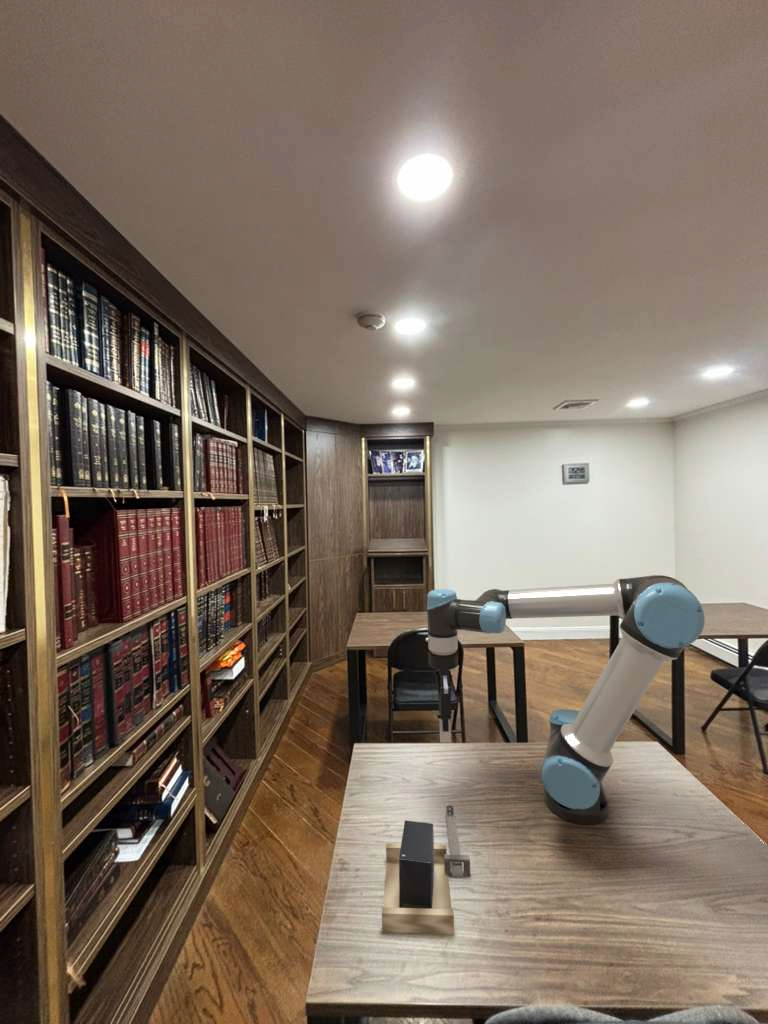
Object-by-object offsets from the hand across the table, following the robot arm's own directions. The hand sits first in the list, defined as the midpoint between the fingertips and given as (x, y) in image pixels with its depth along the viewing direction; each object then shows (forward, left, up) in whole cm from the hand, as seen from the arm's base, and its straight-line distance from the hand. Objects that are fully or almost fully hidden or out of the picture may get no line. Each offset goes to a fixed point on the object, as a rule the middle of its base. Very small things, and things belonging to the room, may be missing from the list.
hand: (445, 740), depth 113 cm
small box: (+8, +27, -16) cm, 32 cm away
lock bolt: (0, +14, -16) cm, 21 cm away
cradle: (+6, +27, -16) cm, 32 cm away
